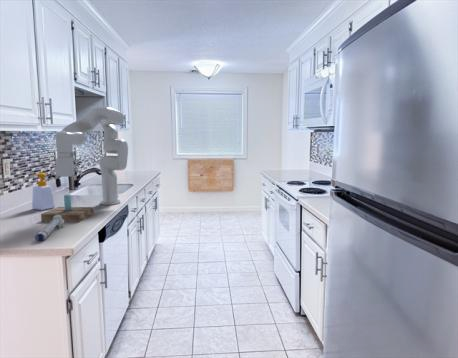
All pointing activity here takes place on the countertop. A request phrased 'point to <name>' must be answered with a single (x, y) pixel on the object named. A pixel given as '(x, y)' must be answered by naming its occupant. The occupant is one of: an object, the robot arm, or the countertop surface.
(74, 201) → the countertop surface
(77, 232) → the countertop surface
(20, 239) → the countertop surface
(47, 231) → the white handheld massager
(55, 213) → the socket block
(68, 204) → the peg
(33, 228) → the countertop surface
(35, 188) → the soap bottle
